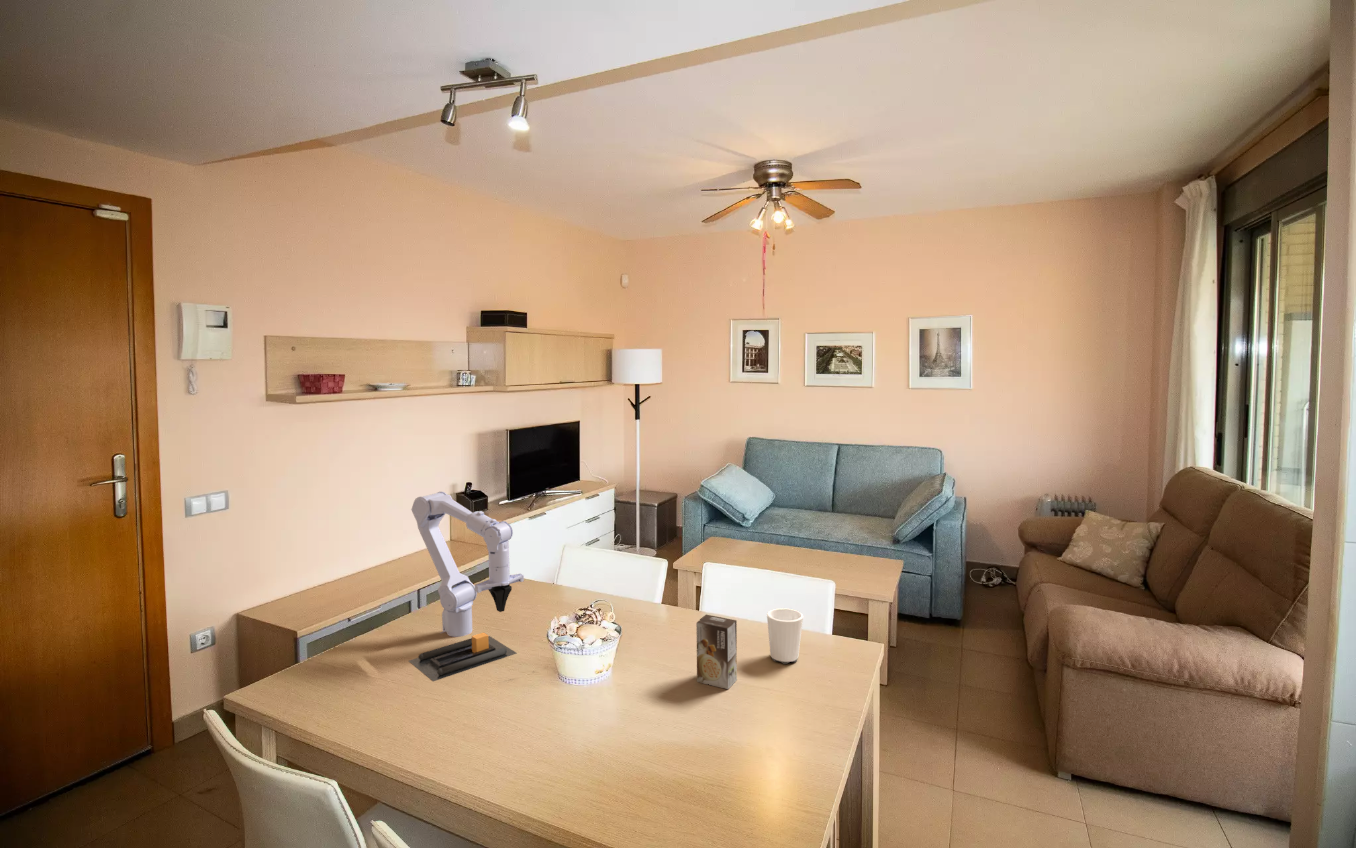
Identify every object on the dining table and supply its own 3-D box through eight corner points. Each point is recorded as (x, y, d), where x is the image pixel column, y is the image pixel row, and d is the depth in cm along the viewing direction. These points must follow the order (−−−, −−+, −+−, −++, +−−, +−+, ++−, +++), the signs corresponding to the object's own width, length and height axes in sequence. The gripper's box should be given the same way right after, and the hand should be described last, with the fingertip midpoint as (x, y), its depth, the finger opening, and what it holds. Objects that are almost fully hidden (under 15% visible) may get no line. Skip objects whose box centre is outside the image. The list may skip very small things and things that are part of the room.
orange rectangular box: (472, 651, 189) (471, 636, 188) (484, 647, 191) (483, 632, 191) (476, 654, 187) (476, 639, 186) (488, 650, 189) (488, 635, 189)
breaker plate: (408, 666, 183) (408, 657, 183) (489, 641, 200) (489, 632, 200) (433, 687, 172) (432, 677, 172) (517, 658, 188) (517, 649, 188)
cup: (801, 652, 192) (801, 608, 191) (803, 667, 182) (804, 622, 181) (765, 650, 193) (766, 607, 192) (766, 666, 183) (767, 620, 182)
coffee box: (737, 679, 176) (738, 620, 174) (728, 690, 170) (728, 628, 169) (706, 672, 180) (706, 613, 179) (695, 682, 174) (695, 622, 173)
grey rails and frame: (417, 659, 184) (417, 653, 184) (484, 639, 197) (484, 633, 197) (439, 677, 174) (438, 670, 174) (508, 654, 187) (508, 648, 187)
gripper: (482, 573, 187) (484, 621, 188) (528, 562, 196) (529, 607, 198) (470, 567, 192) (472, 614, 193) (516, 557, 202) (517, 601, 203)
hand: (500, 610), depth 196 cm, fingers closed
